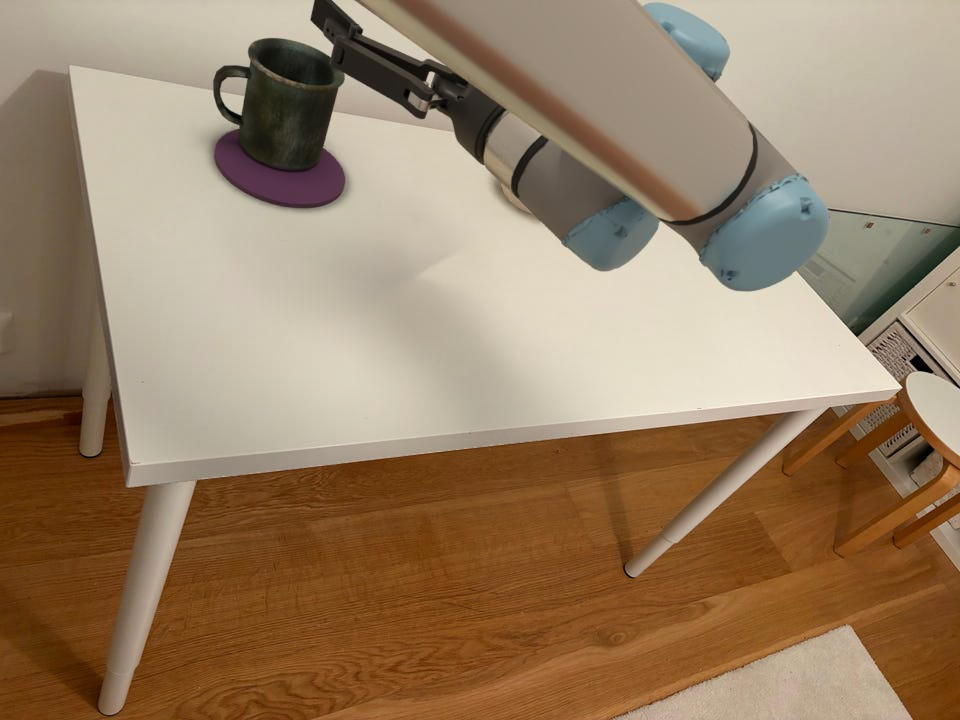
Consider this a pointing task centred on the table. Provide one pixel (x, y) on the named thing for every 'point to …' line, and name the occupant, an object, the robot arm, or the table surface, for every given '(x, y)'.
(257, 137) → the mug
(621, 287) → the table surface
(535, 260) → the table surface
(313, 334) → the table surface
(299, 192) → the place mat
